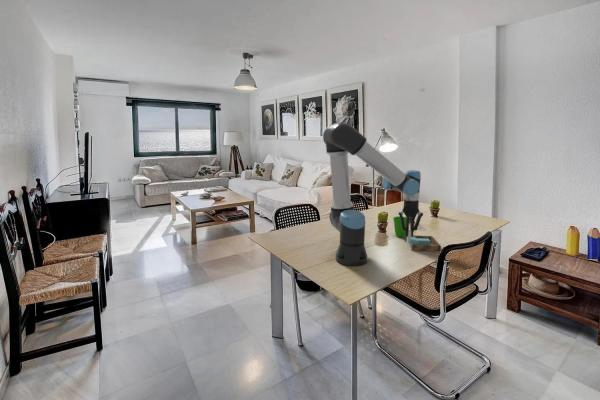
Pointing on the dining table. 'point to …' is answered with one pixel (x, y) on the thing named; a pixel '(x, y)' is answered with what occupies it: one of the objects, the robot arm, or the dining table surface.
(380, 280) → the dining table surface
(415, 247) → the corral
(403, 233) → the cup
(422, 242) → the tee
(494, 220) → the dining table surface
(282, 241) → the dining table surface
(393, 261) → the dining table surface
